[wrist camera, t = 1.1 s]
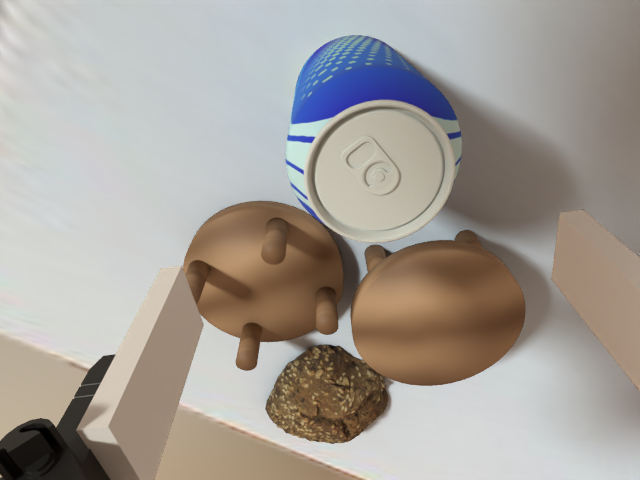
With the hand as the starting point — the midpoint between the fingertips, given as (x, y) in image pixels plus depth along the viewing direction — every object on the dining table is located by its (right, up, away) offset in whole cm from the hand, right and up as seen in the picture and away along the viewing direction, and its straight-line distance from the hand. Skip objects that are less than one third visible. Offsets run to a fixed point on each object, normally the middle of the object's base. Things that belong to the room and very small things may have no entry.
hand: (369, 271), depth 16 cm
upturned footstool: (-7, -2, +25) cm, 26 cm away
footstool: (+8, -3, +26) cm, 27 cm away
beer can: (+1, +12, +18) cm, 21 cm away
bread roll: (-1, -15, +34) cm, 37 cm away
